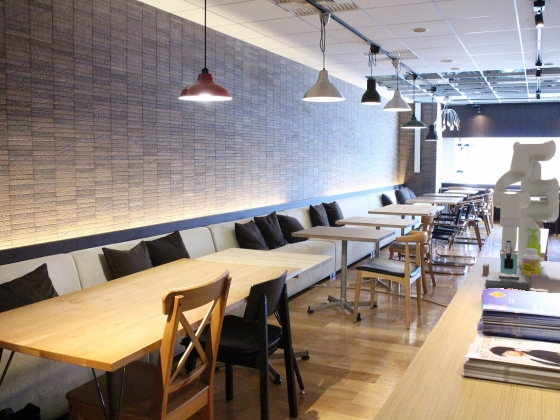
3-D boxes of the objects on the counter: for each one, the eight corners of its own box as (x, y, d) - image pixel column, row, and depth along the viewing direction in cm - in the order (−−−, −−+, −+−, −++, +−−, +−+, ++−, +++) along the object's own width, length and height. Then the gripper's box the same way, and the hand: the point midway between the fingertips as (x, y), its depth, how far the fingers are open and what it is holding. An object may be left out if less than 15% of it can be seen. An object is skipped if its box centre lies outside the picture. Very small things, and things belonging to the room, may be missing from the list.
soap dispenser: (526, 271, 245) (527, 227, 243) (542, 274, 240) (543, 229, 238) (520, 273, 241) (522, 229, 239) (537, 276, 236) (538, 230, 234)
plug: (501, 271, 223) (501, 251, 222) (517, 272, 220) (517, 252, 219) (500, 273, 219) (500, 253, 218) (516, 274, 216) (517, 254, 216)
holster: (483, 273, 243) (483, 262, 243) (512, 275, 238) (512, 264, 237) (480, 277, 234) (481, 266, 234) (510, 280, 229) (511, 268, 228)
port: (489, 279, 230) (489, 272, 230) (531, 283, 223) (531, 275, 222) (485, 287, 217) (485, 279, 217) (529, 291, 210) (529, 282, 210)
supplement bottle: (519, 278, 231) (520, 249, 230) (525, 276, 236) (525, 247, 235) (536, 281, 227) (537, 250, 226) (541, 278, 232) (542, 248, 230)
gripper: (502, 220, 227) (500, 263, 228) (498, 224, 212) (497, 270, 214) (521, 220, 223) (520, 264, 225) (519, 225, 209) (517, 272, 210)
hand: (509, 267), depth 219 cm, fingers closed on plug, 4 cm apart
